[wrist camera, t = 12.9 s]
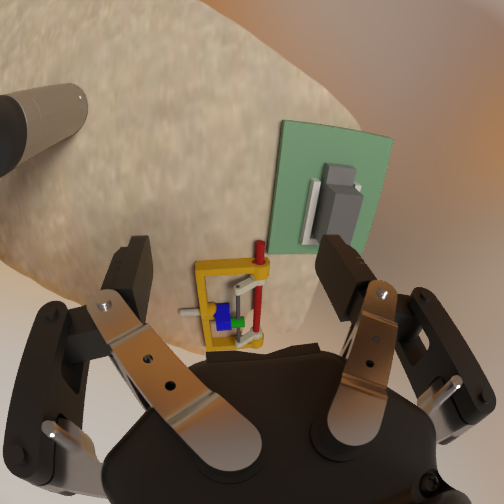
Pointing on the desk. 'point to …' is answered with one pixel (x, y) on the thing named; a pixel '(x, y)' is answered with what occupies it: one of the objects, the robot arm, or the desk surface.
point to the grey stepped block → (337, 203)
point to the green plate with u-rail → (310, 176)
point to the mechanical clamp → (221, 312)
